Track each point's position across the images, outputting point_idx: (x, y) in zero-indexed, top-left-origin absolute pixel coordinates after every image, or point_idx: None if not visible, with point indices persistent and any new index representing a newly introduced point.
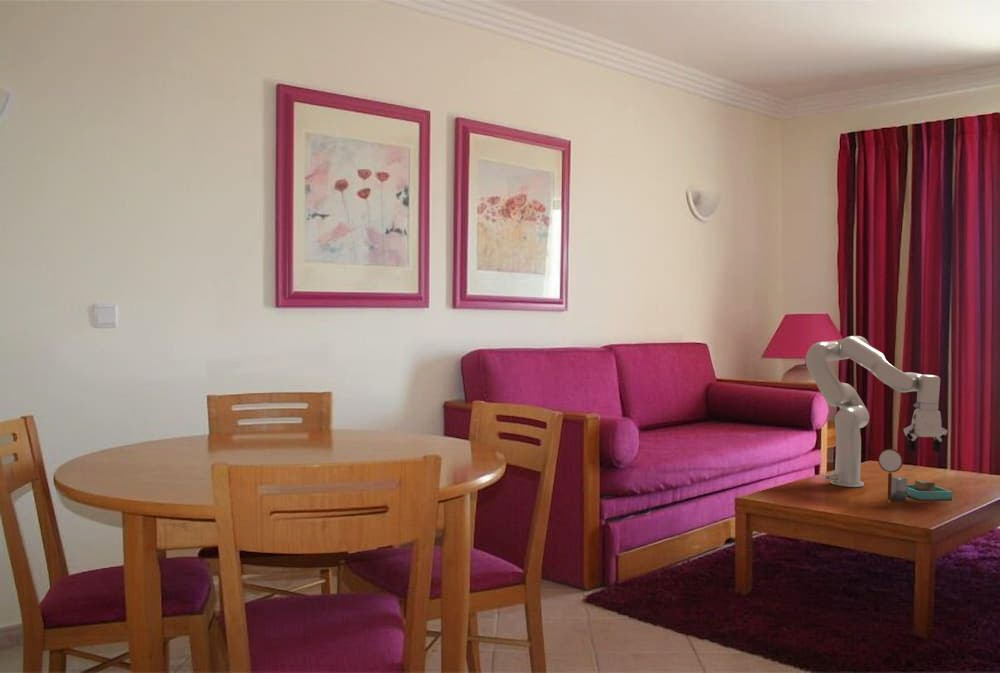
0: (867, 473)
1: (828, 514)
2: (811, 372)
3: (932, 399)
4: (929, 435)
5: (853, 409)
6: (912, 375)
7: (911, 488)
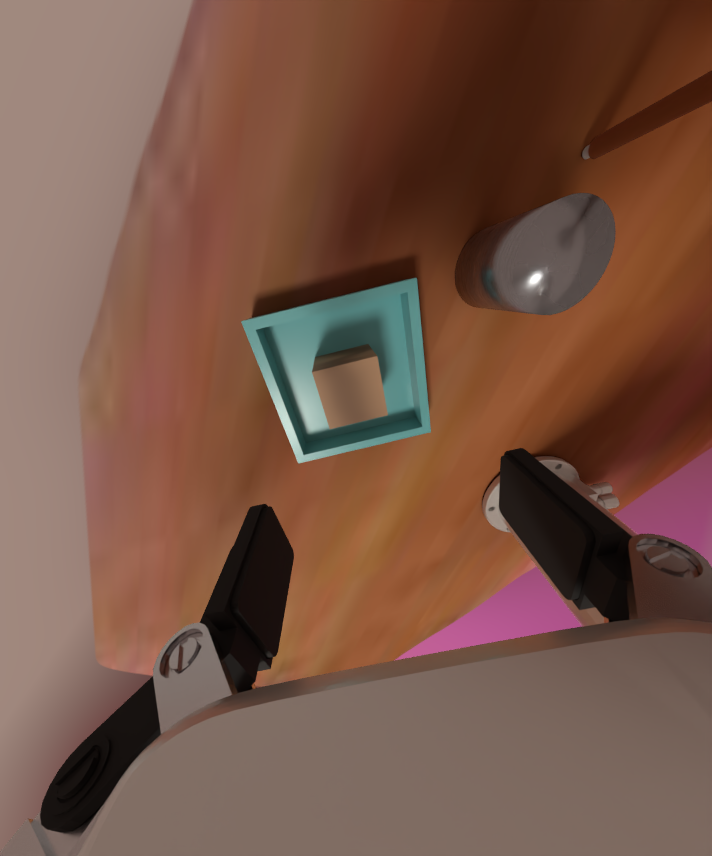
0: (397, 617)
1: None
2: None
3: None
4: (440, 703)
5: None
6: None
7: (378, 430)
